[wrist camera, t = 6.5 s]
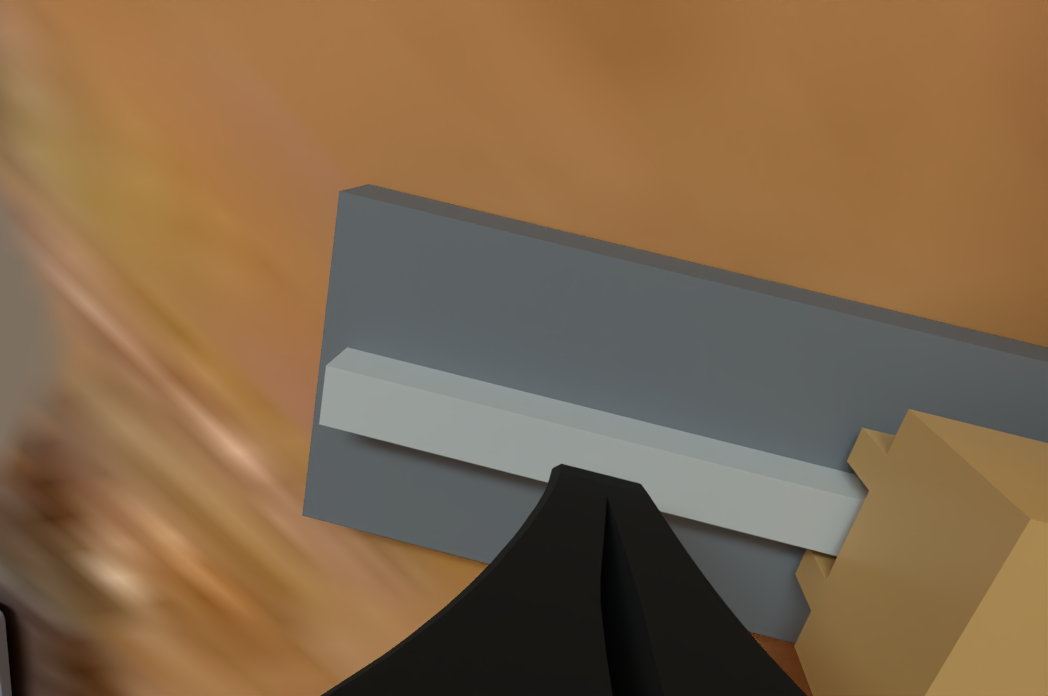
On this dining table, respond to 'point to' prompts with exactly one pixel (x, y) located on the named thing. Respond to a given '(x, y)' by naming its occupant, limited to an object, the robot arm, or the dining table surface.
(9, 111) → the dining table surface
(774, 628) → the track
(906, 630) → the sliding carriage
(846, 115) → the dining table surface
